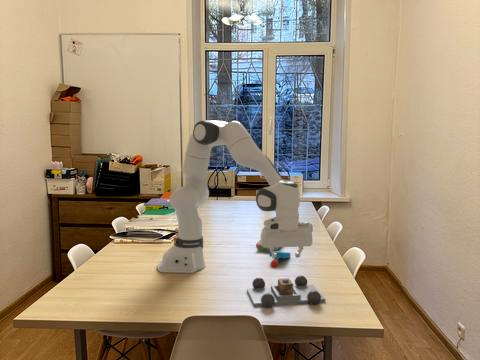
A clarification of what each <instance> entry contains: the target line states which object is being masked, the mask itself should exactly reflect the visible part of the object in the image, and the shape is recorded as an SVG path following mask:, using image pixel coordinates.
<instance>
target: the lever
mask: <svg viewBox="0 0 480 360" xmlns="http://www.w3.org/2000/svg"><path fill="white" fill-rule="evenodd" d="M273 252H274V253H276V254H277V256H276V257H277V258H275V259H273V260H271V262H270V265H271V267H273V268H277V267H278V266H279V259H289V258H291V252H285V251H279V250H277V251H273ZM269 257H271V258H272V253H271V252H269Z"/></svg>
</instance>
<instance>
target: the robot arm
mask: <svg viewBox="0 0 480 360" xmlns="http://www.w3.org/2000/svg"><path fill="white" fill-rule="evenodd" d="M224 146H225V147H226V149H227V151H228V152H229V154H230V156H231V158H232V159H233V161H234V162H235V163H236V164H238V165H239V166H241V167H245V168H250V169H252V170H255V171H257V172H258V173H260V174H261V175H262V176H263V178H264V179H265V181H267V183H268V185H269V186H266V187H262V188H260V189H259V190H258V191H257V193H256V195H255V203H256V205H257V207H258V208H259V209H260V210H261V211H262V212H275V217H272V218H269V219H266V220H264V221H263V226H264V227H263V228H262V230H261V233H260V238H259V239H260V240H259V241H260V243H261V245H262V246H263V247H264V248H269V249H270V251H271V253H272V257H271V258H272V259H276V258H277V257H276V256H277V254H276V253H274V252H273V250H274V247H279V248H298V250H297V251H295V253H294V256H295V257H296V258H300V257H301V253H302V252H303V250H304V247H312V245H313V231H314V226H313V224H312V223H310V222H307V221H306V222H300V212H299V207H300V205H301V204H300V201H301V200H300V199H301V198H300V196H301V194H300V188H299V185H298V183H296V182H294V181H292V180H288V179H284V177H283V176H282V175H281V174H280V172H279V170H278V169H277V168H276V166H275V164H273V163H272V161H271V160H270V158H269V156H268V155H266V154H265V153H264V152H263V151H262V150H261V149H260V148H259V147H258V145H257V144H256V142H255V141H254V139H253V138H252V136H251V134H250V133H249V131H248V130H247V128H245V126H244V125H243V124H242V123H241V122H240V121H237V120H232V121H230V122H228V121H224V120H217V119H216V120H208V119H204V120H201V121H200V120H199V121H198V122H196V123H195V124H194V127H193V129H192V133H191V135H190V137H189V138H188V142H187V146H186V150H185V155H184V160H183V166H182V171H183V173H184V178H185V180H184V181H185V183H184V185H183V186H180V187H177V188H176V189H175V190H174V191H172V192H171V194H170V196H169V203H170V206H171V208H173V209H174V211H175V214H176V217H177V226H178V227H177V228H178V229H177V231H178V236H175V235H174V236H173V239H172V240H173V246H171V247H170V248H168V249H167V250H166V251H165V252H164V253H163V255H162V259H161V261H158V263H157V266H156V267H157V269H156V270H157V271H159V272H160V273H167V274H168V273H173V274H174V273H175V274H177V273H178V274H181V273H182V274H193V273H195V272H198V271H200V270H203V269H204V268H205V267H206V262H205V257H204V250H203V249H204V236H203V221H202V219H201V217H200V215H199V212H198V211H199V210H198V207H199V206H202V205H203V204H204V203H206V201H207V200H208V198H209V195H210V190H209V188H208V179H207V177H208V169H209V163H210V158H211V153H212V149H213V148H214V147H224Z"/></svg>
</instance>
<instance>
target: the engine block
mask: <svg viewBox="0 0 480 360" xmlns="http://www.w3.org/2000/svg"><path fill="white" fill-rule="evenodd" d="M277 285H278V292H279V294H280V295H293V286H294V283H293V282H292V280H291V278H289V277H288V278H286V277H284V278H278V279H277Z"/></svg>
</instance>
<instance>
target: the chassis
mask: <svg viewBox="0 0 480 360" xmlns="http://www.w3.org/2000/svg"><path fill="white" fill-rule="evenodd" d="M251 284H252V288H247V289H246V292H247V295H248V296H249V299H250V301H251V303H252V305H253V307H254V308H255V307H264V308H272V307H273V306H283V305H286V306H287V305H298V304H301V305H302V304H311V305H313V306H314V305H317V304H319V303H326V298H325V297H324V296H323V294H322V293H321V292H320V291H319V290H318V288H316V287H315V285H314V284H309V285H308V279H307V278H306V276H304V275H298V276H297V277H295V278H294V284H295V285H293V295H280V294H279V292H278V284H274V285H270V287H265V286H266V282H265V280H264V278H262V277H256V278H254V279H253V281H252V283H251Z"/></svg>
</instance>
